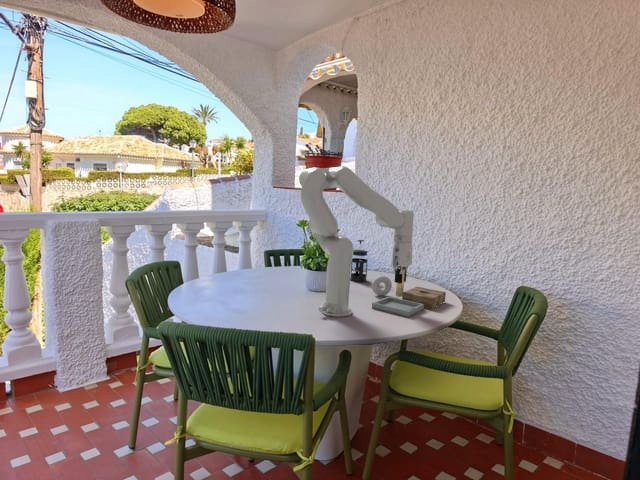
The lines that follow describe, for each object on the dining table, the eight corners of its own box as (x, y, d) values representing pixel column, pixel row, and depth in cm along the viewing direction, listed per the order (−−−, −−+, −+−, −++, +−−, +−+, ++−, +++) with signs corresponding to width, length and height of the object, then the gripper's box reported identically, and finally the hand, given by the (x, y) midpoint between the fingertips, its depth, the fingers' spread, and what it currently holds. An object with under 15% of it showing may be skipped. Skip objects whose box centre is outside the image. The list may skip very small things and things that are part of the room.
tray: (408, 317, 155) (408, 311, 154) (371, 308, 165) (372, 302, 165) (423, 309, 166) (424, 304, 166) (388, 301, 177) (388, 296, 177)
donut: (372, 296, 184) (373, 276, 183) (370, 294, 187) (371, 274, 186) (392, 296, 186) (393, 276, 184) (389, 294, 189) (391, 274, 188)
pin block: (431, 309, 167) (432, 298, 166) (401, 303, 175) (402, 292, 175) (444, 302, 179) (445, 292, 179) (416, 296, 188) (417, 286, 187)
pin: (401, 297, 163) (402, 269, 162) (394, 295, 165) (396, 268, 163) (404, 295, 165) (405, 268, 164) (397, 294, 167) (399, 267, 166)
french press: (348, 278, 222) (350, 238, 219) (364, 278, 223) (366, 239, 220) (352, 283, 210) (354, 241, 207) (369, 283, 211) (371, 241, 209)
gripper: (402, 242, 153) (399, 287, 156) (419, 238, 166) (416, 280, 168) (385, 240, 158) (383, 283, 160) (403, 237, 171) (400, 277, 173)
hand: (400, 281), depth 164 cm, fingers closed on pin, 3 cm apart
